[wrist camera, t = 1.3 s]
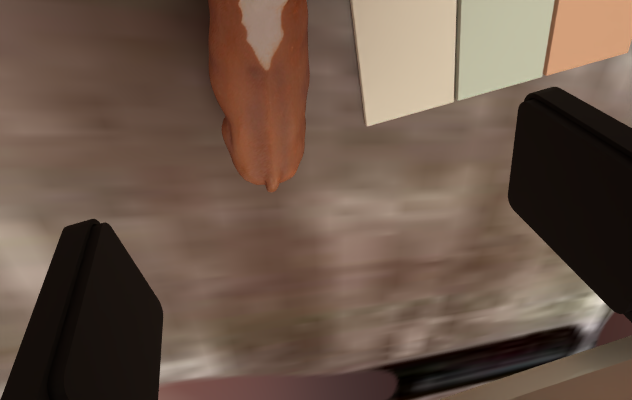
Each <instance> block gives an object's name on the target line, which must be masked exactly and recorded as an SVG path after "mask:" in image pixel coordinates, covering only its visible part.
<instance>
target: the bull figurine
mask: <svg viewBox="0 0 632 400" xmlns="http://www.w3.org/2000/svg"><path fill="white" fill-rule="evenodd" d="M208 4H209V12H210V26H209V43H208V44H209V76H210V81H211V85H212V88H213V91H214V94H215V96H216V99H217V101H218V103H219V105H220V107H221V108H222V110H223V112H224V114H225V118H224V120H223V124H222V135H223V138H224V141H225V144H226V146H227V148H228V151H229V153H230V155H231V158H232V161H233V163H234V165H235V167H236V169H237V171H238V172H239V174H240V175H241V176H242V177H243V178H244V179H245V180H246V181H248V182H251V183H253V184H256V185H262V184H264V185H266V188H267V190H268V191H269V192H274V191H276V190H277V188H278V186H279V183H281V182H284V181H286V180H288V179H290V178H292V177H293V176H294V174H295V173H296V171H297V168H298V166H299V163H300V161H301V159H302V156H303V153H304V145H305V142H304V139H305V129H306V120H305V108H306V98H307V92H308V87H309V61H308V32H307V25H308V9H307V2H306V0H208Z"/></svg>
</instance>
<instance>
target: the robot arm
mask: <svg viewBox="0 0 632 400" xmlns="http://www.w3.org/2000/svg"><path fill="white" fill-rule="evenodd" d="M508 200H509V203H510V205H511V207H512V209H513V210H514V211H515V212H516V213H517V214H518V215H519V216H520V217H521V218H522V219H523V220H524V221H525V222H526V223H527V224H528V225H529V226H530V227H531V228H532V229H533V230H534V231H535V232H536V233H537V234H538V235H539V236H540V237H541V238H542V239H543V240H544V241H545V242H546V243H547V244H548V245H549V246H550V247H551V248H552V249H553V251H554V252H555V253H556V254H557V255H558V256H559V257H560V258H561V259H562V260H563V261H564V262H565V263H566V264H567V265H568V266H569V267H570V268H571V269H572V270H573V271H574V272H575V273H576V274H577V275H578V276H579V277H580V278H581V279H582V280H583V281H584V282H585V283H586V284H587V285H588V286H589V287H590V288H591V289H592V290H593V291H594V292H595V293H596V294H597V295H598V296H599V297H600V298H601V299H602V300H603V301H604V302H605V303H606V304H607V305H608V306H609V307H610V308H611V309H612V310H613V311H614V312H616V313H619V314H624V315H625V316H626V317H627V318H628V319H629V320H630V321H631V322H632V128H630V127H628V126H627V125H625V124H623V123H621V122H620V121H618V120H616V119H614V118H612V117H611V116H609V115H607V114H605V113H603V112H602V111H600V110H598V109H596V108H594V107H593V106H591V105H589V104H587V103H585V102H584V101H582V100H580V99H578V98H576V97H575V96H573V95H571V94H569V93H568V92H566V91H564V90H562V89H560V88H558V87H551V88H547V89H544V90H540V91H537V92H533V93H530V94H528V95H527V96H526V98H525V100H524V102H522V103H521V104H520V106H519V109H518V116H517V124H516V132H515V140H514V149H513V157H512V165H511V173H510V182H509V190H508ZM162 327H163V310H162V307H161V304H160V302H159V300H158V298H157V297H156V295H155V294H154V292H153V291H152V289H151V288H150V286H149V284H148V283H147V281H146V280H145V278H144V277H143V275H142V274H141V272H140V271H139V269H138V267H137V266H136V264H135V263H134V261H133V260H132V258H131V257H130V255H129V254H128V252H127V250H126V249H125V247H124V246H123V244H122V243H121V241H120V240H119V238H118V237H117V235H116V234H115V232H114V230H113V229H112V227H111V226H110V225H109V224H108V223H101V224H100V222H99V221H97V220H96V219H90V220H87V221H83V222H80V223H76V224H73V225H69V226H67V227H65V228H64V229H63V231H62V234H61V236H60V239H59V242H58V244H57V247H56V250H55V253H54V255H53V258H52V261H51V264H50V266H49V269H48V272H47V274H46V277H45V280H44V283H43V285H42V288H41V291H40V294H39V296H38V299H37V302H36V305H35V307H34V310H33V313H32V315H31V318H30V321H29V324H28V326H27V329H26V332H25V335H24V337H23V340H22V343H21V345H20V348H19V351H18V354H17V356H16V359H15V362H14V365H13V367H12V370H11V373H10V376H9V378H8V381H7V384H6V386H5V389H4V392H3V395H2V397H1V400H158V391H159V376H160V360H161V343H162ZM440 400H632V336H629V337H626V338H623V339H620V340H617V341H614V342H611V343H608V344H605V345H602V346H599V347H595V348H592V349H589V350H586V351H583V352H580V353H577V354H574V355H571V356H568V357H565V358H562V359H559V360H556V361H553V362H550V363H547V364H544V365H541V366H538V367H535V368H532V369H529V370H526V371H523V372H520V373H517V374H514V375H511V376H508V377H505V378H502V379H499V380H496V381H493V382H490V383H487V384H484V385H481V386H478V387H475V388H472V389H469V390H466V391H463V392H460V393H457V394H454V395H451V396H449V397H446V398H443V399H440Z"/></svg>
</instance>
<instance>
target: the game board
mask: <svg viewBox="0 0 632 400" xmlns="http://www.w3.org/2000/svg"><path fill="white" fill-rule="evenodd" d="M350 4H351V12H352V20H353V29H354V37H355V45H356V53H357V62H358V70H359V78H360V87H361V95H362V103H363V112H364V120H365V124H366V126H371V125H374V124H378V123H381V122H385V121H388V120H392V119H395V118H399V117H402V116H406V115H409V114H413V113H416V112H420V111H423V110H427V109H431V108H434V107H438V106H441V105H445V104H448V103H452V102H454V68H455V33H456V0H350ZM631 39H632V0H458V15H457V48H456V81H455V99H457V100H458V101H459V100H462V99H466V98H469V97H473V96H476V95H480V94H483V93H487V92H491V91H494V90H498V89H501V88H505V87H508V86H512V85H515V84H519V83H522V82H526V81H529V80H533V79H536V78H540V77H542V74H544V75H546V76H547V75H551V74H554V73H558V72H561V71H565V70H568V69H572V68H575V67H579V66H582V65H586V64H589V63H593V62H596V61H600V60H603V59H607V58H610V57H614V56H618V55H621V54H625V53H628V50H629V46H630V43H631Z"/></svg>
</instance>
